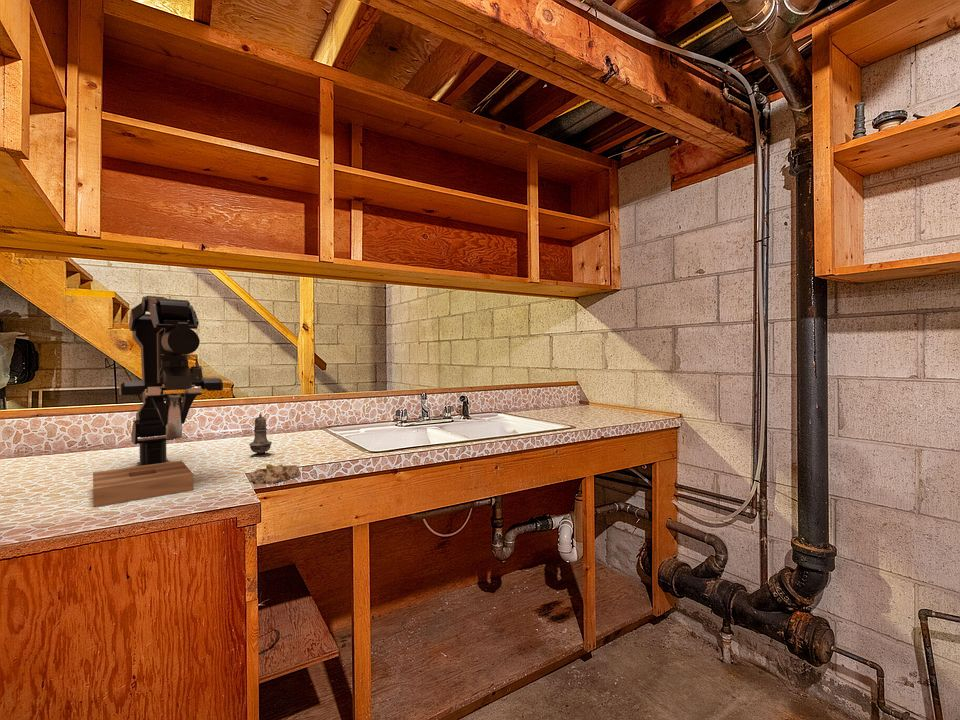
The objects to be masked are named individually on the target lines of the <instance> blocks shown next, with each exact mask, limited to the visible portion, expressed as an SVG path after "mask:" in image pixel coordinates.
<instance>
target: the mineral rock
mask: <svg viewBox="0 0 960 720" xmlns="http://www.w3.org/2000/svg"><path fill="white" fill-rule="evenodd" d="M299 475H300V468H299V467H298V466H297V465H283V464H279V465H274V464H270V463H269V464H266V467H265V468H257V469H255V471H251V472H249V476H250V481H252V482H254V483H255V484H256V485H265V484H266V485H270V484H271V485H273V484H275V483H281V482H284V481H287V480H292V479H295V478H296V477H298V476H299Z"/></svg>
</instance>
